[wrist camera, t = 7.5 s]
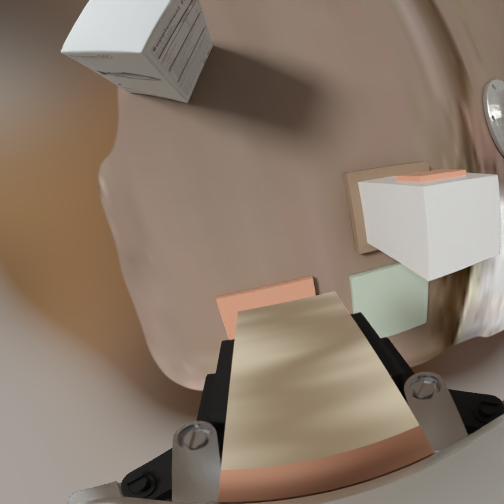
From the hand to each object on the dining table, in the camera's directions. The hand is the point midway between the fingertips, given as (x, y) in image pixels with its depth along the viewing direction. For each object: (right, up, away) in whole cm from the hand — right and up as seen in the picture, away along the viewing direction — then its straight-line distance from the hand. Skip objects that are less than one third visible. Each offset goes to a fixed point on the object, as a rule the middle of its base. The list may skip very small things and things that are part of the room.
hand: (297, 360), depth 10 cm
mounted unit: (+13, +9, +15) cm, 22 cm away
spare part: (0, 0, +1) cm, 1 cm away
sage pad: (+14, -1, +18) cm, 23 cm away
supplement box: (-10, +23, +12) cm, 28 cm away
